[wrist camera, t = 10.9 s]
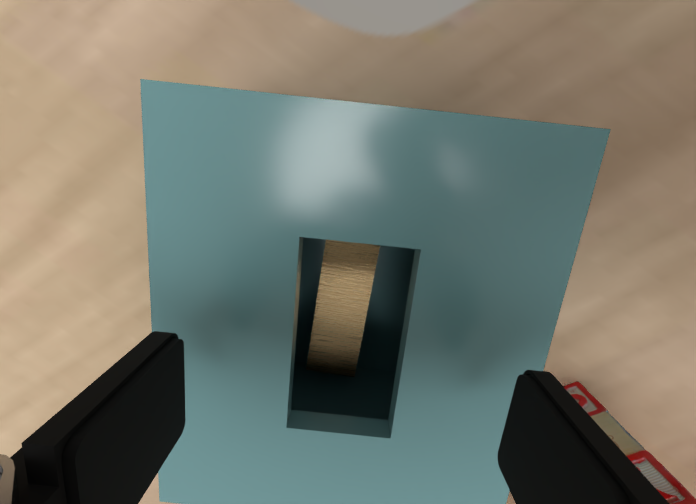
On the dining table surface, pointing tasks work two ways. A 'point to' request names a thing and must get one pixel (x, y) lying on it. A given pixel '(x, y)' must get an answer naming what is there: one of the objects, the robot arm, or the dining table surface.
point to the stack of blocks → (632, 448)
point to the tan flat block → (341, 306)
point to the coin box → (386, 295)
